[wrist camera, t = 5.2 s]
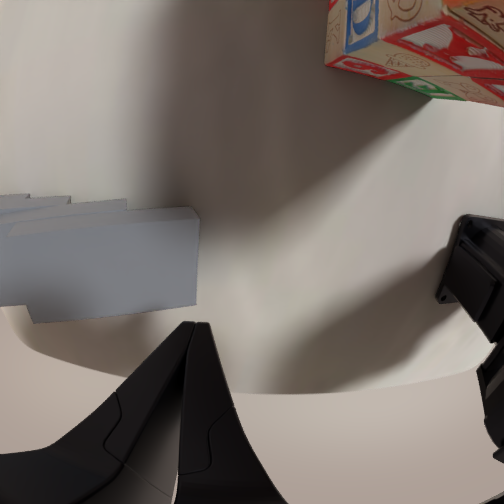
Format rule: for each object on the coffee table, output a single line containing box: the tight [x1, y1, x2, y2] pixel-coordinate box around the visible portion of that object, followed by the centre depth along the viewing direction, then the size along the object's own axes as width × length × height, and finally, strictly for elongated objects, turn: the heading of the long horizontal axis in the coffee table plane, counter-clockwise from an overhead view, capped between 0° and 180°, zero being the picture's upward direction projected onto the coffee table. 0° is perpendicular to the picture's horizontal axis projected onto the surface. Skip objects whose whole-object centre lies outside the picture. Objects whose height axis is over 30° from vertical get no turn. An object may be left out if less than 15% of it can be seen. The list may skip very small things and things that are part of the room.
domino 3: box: [6, 207, 200, 324], centre depth 12 cm, size 2×5×9 cm
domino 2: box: [0, 199, 127, 307], centre depth 12 cm, size 2×5×9 cm
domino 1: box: [0, 196, 71, 214], centre depth 11 cm, size 2×5×9 cm
